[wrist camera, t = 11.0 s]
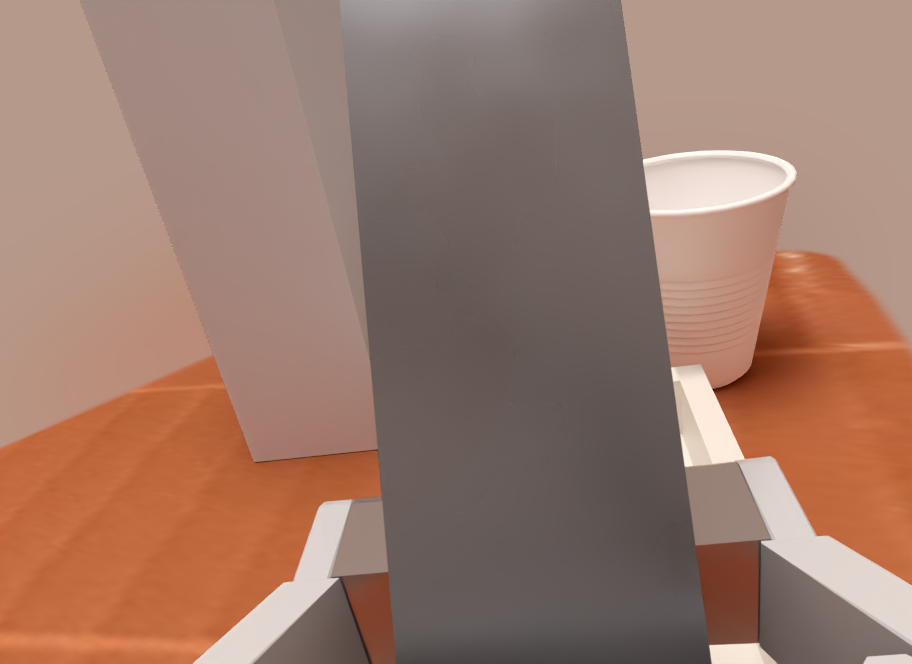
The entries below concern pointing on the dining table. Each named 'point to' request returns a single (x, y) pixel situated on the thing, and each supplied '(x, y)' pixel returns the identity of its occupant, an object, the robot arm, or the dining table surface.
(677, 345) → the cup
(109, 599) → the dining table surface
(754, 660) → the tray
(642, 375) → the dark gray bar
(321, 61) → the channel block
